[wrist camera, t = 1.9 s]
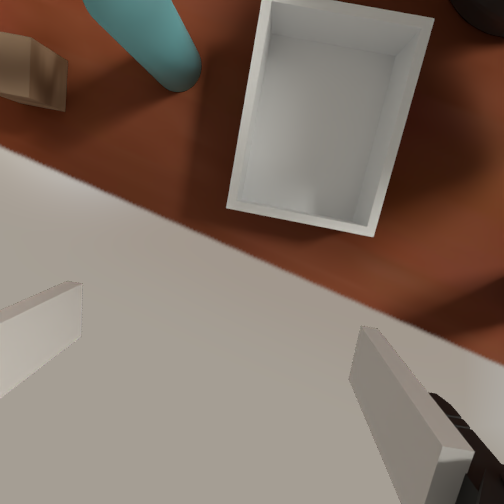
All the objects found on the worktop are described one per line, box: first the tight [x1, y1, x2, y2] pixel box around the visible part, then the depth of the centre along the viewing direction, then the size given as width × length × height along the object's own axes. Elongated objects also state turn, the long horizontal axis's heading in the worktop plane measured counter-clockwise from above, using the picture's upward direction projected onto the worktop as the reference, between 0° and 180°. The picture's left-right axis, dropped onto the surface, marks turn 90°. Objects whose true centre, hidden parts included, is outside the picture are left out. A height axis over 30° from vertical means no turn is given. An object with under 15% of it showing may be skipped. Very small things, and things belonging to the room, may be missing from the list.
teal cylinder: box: [83, 0, 202, 92], centre depth 25 cm, size 5×5×12 cm
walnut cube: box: [0, 32, 68, 112], centre depth 29 cm, size 5×5×5 cm
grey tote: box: [226, 0, 435, 237], centre depth 28 cm, size 18×14×6 cm
